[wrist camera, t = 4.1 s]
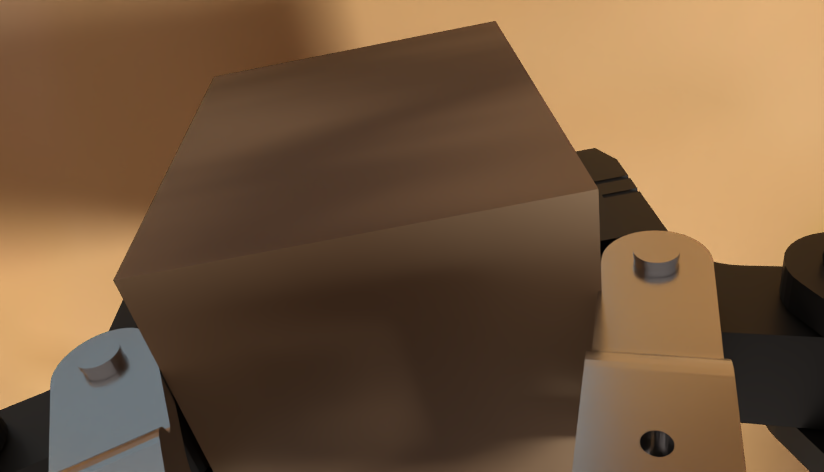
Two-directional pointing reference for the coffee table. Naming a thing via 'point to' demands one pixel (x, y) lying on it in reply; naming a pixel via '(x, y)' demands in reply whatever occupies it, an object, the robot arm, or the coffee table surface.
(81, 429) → the robot arm
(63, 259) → the coffee table surface
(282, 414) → the block
